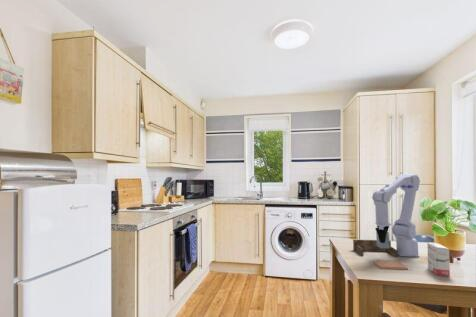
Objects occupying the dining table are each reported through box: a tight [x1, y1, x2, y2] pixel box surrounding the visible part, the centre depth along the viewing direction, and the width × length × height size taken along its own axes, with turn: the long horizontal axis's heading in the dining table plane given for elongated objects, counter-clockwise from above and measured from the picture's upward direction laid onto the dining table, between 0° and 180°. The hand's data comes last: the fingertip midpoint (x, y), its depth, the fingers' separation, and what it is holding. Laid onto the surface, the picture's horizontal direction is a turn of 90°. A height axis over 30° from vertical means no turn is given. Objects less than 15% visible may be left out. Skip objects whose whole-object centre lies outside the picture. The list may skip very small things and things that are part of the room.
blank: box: [375, 230, 390, 248], centre depth 132 cm, size 4×5×8 cm
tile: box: [372, 260, 409, 271], centre depth 122 cm, size 12×8×1 cm, turn 83°
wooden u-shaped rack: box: [352, 239, 398, 258], centre depth 141 cm, size 20×10×6 cm, turn 83°
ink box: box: [427, 242, 451, 277], centre depth 115 cm, size 9×5×12 cm, turn 168°
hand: (382, 241), depth 132 cm, fingers closed on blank, 6 cm apart
